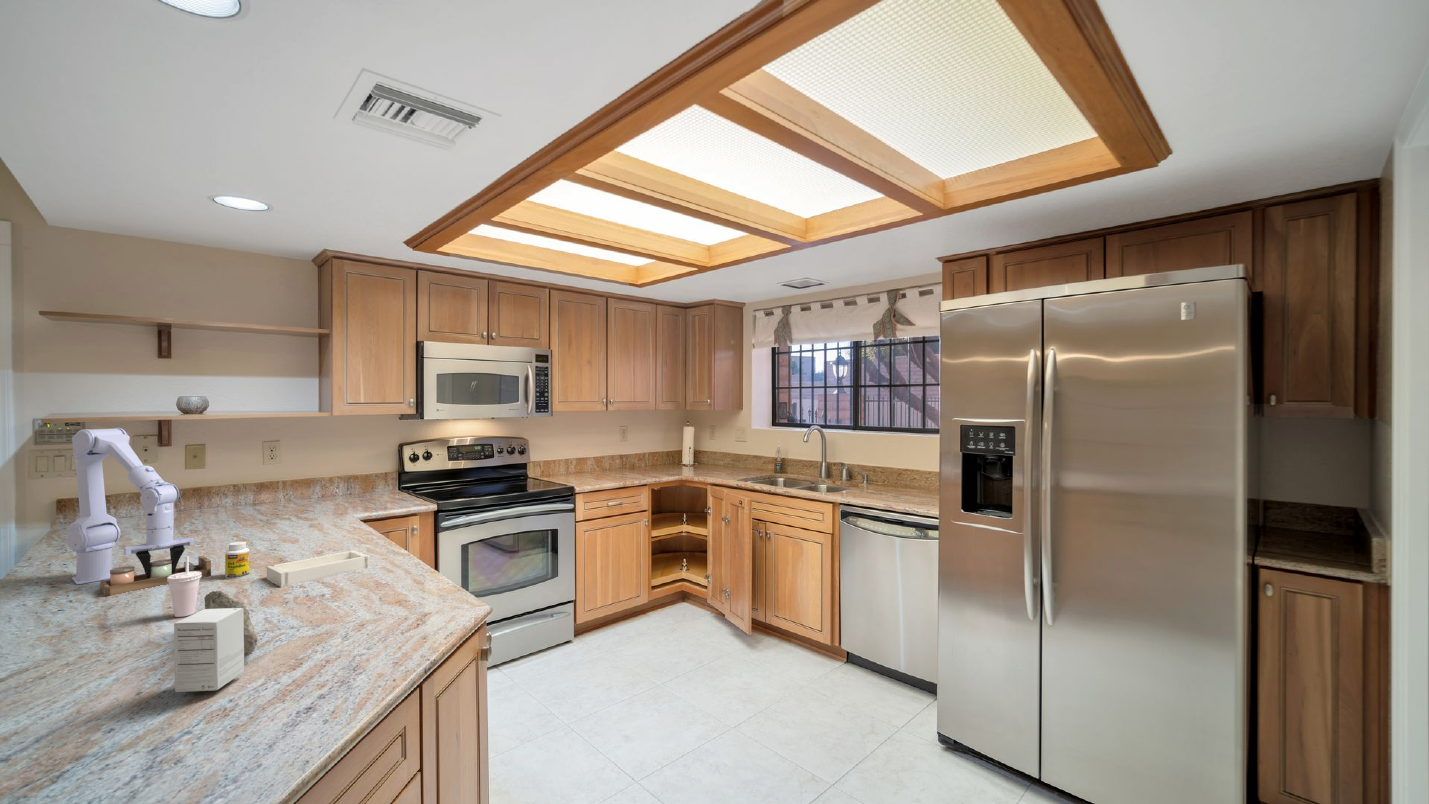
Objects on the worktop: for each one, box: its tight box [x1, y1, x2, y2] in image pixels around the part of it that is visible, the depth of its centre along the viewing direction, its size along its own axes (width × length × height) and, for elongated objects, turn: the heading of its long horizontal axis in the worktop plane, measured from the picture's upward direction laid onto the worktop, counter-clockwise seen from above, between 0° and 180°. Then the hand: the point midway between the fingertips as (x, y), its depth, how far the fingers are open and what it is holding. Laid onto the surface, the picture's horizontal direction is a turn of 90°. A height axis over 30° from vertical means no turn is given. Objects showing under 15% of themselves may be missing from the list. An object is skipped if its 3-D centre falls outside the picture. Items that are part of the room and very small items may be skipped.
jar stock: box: [109, 565, 135, 586], centre depth 163 cm, size 5×5×6 cm
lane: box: [99, 555, 212, 598], centre depth 169 cm, size 9×22×5 cm, turn 143°
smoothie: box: [167, 555, 202, 618], centre depth 145 cm, size 6×6×14 cm
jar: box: [150, 558, 172, 579], centre depth 169 cm, size 5×5×6 cm
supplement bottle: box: [224, 541, 250, 580], centre depth 175 cm, size 6×6×10 cm
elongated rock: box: [204, 590, 259, 658], centre depth 127 cm, size 35×5×10 cm, turn 52°
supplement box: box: [173, 608, 245, 693], centre depth 110 cm, size 7×7×13 cm
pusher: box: [183, 561, 196, 572], centre depth 175 cm, size 6×2×4 cm, turn 53°
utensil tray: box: [266, 549, 371, 588], centre depth 178 cm, size 12×23×4 cm, turn 143°
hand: (160, 574), depth 169 cm, fingers closed on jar, 4 cm apart
